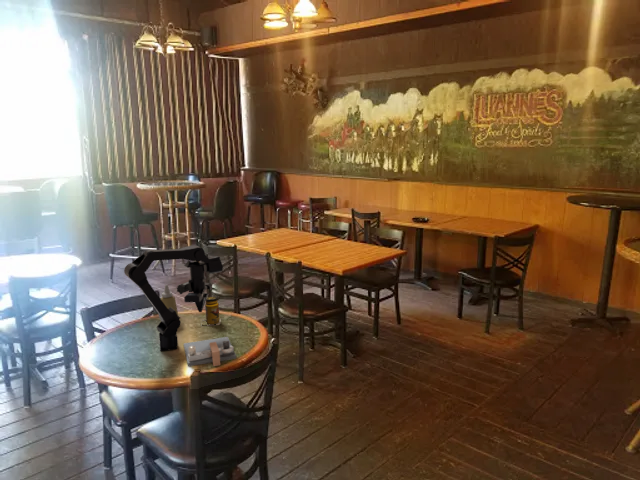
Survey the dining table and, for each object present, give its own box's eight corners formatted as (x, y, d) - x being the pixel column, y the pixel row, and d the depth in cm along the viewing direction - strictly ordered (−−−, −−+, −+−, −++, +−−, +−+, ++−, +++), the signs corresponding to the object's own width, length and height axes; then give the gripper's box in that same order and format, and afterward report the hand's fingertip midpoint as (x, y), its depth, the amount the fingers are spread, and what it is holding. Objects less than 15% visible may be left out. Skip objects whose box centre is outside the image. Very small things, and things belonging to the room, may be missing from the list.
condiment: (220, 324, 227) (218, 299, 225) (201, 326, 226) (199, 301, 224) (221, 319, 234) (219, 294, 232) (202, 320, 233) (200, 296, 231)
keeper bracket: (213, 366, 186) (212, 352, 185) (210, 356, 194) (209, 342, 193) (220, 365, 186) (219, 351, 185) (216, 355, 195) (215, 341, 194)
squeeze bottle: (172, 318, 238) (168, 281, 234) (182, 321, 233) (179, 284, 229) (157, 323, 231) (153, 285, 228) (167, 326, 226) (163, 288, 223)
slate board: (187, 366, 186) (187, 362, 186) (183, 346, 205) (183, 342, 204) (236, 358, 192) (235, 355, 191) (227, 339, 210) (227, 336, 210)
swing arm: (231, 349, 196) (230, 337, 195) (234, 353, 192) (233, 341, 191) (187, 357, 190) (186, 345, 189) (190, 362, 185) (188, 350, 184)
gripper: (186, 270, 216) (189, 304, 219) (170, 282, 198) (173, 319, 201) (211, 270, 215) (214, 304, 218) (197, 282, 197) (200, 319, 200)
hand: (200, 311), depth 209 cm, fingers closed
